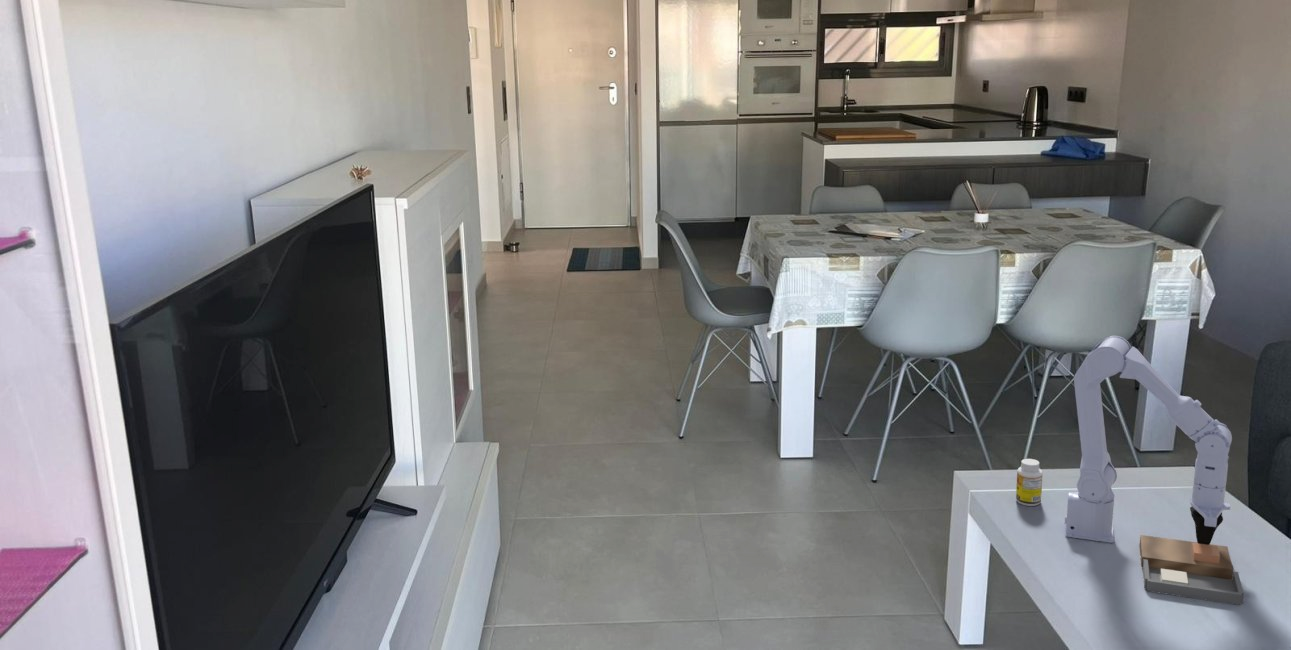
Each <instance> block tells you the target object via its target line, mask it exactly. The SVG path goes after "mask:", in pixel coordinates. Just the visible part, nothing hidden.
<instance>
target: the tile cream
mask: <svg viewBox="0 0 1291 650" xmlns="http://www.w3.org/2000/svg"><path fill="white" fill-rule="evenodd" d="M1160 580H1161V581H1165V582H1172V583H1178V584H1185V585H1188V580H1187V573H1186V572H1182V571H1175V570H1168V569H1161V570H1160Z"/></svg>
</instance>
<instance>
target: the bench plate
mask: <svg viewBox="0 0 1291 650" xmlns="http://www.w3.org/2000/svg"><path fill="white" fill-rule="evenodd" d="M1192 543H1198V542H1197V541H1196V542H1195V541H1188V540H1182V539H1176V538H1175V539H1174V538H1166V537H1159V536H1153V535H1152V536H1150V535H1146V534H1140V535H1139V544H1138V546H1139V555H1140V556H1141V558H1140V565H1141V567H1143V559H1147V560H1148V567H1149V568H1154V569H1160V570H1161V569H1168V570H1175V571H1182V572H1186V573H1188V574H1195V575H1202V576H1209V577H1216V578H1223V579H1230V580H1232V579H1233V572H1234V567H1233V564H1232V559H1231V556H1230V552H1229V548H1228V546H1225V545H1221V544H1220V545H1219V544H1211V543H1210V545H1214V546H1218V550H1219V554H1220V561H1219V563H1211V562H1204V561H1197V560H1193V555H1192Z"/></svg>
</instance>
